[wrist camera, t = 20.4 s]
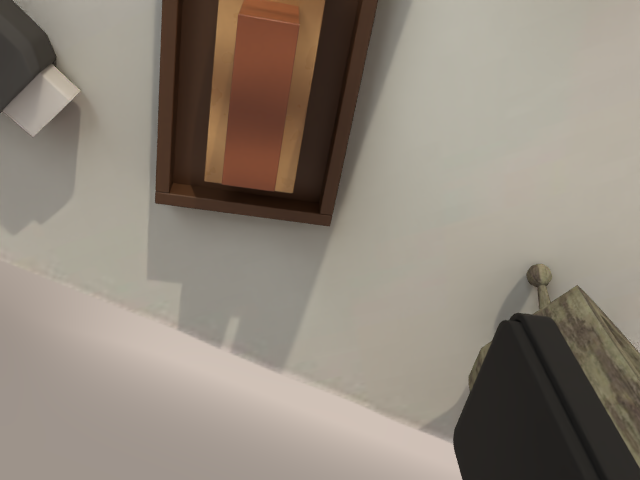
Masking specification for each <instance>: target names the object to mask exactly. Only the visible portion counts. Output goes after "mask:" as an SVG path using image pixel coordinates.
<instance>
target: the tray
mask: <svg viewBox="0 0 640 480" xmlns="http://www.w3.org/2000/svg"><path fill="white" fill-rule="evenodd" d="M218 3H219V0H162V25H161V53H160V81H159V110H158V138H157V166H156V193H155V203H157V204H165V205H172V206H180V207H187V208H195V209H202V210H210V211H217V212H225V213H232V214H240V215H248V216H255V217H263V218H270V219H278V220H285V221H293V222H300V223H308V224H315V225H323V226H330V224H331V219H332V214H333V210H334V205H335V200H336V196H337V191H338V186H339V182H340V177H341V172H342V168H343V163H344V158H345V153H346V149H347V144H348V139H349V135H350V130H351V125H352V121H353V116H354V111H355V107H356V102H357V97H358V92H359V88H360V83H361V78H362V74H363V69H364V64H365V60H366V55H367V50H368V46H369V41H370V36H371V31H372V27H373V22H374V17H375V13H376V8H377V3H378V0H325V6H324V12H323V18H322V24H321V30H320V36H319V42H318V48H317V54H316V60H315V66H314V71H313V77H312V83H311V89H310V95H309V101H308V107H307V113H306V119H305V125H304V131H303V137H302V143H301V149H300V155H299V160H298V166H297V172H296V178H295V184H294V190H293V193H287V192H279V191H274V192H273V191H266V190H258V189H251V188H244V187H236V186H229V185H222V184H221V183H214V182H207V181H204V176H205V164H206V151H207V139H208V126H209V114H210V102H211V89H212V77H213V65H214V52H215V40H216V27H217V15H218Z"/></svg>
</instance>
